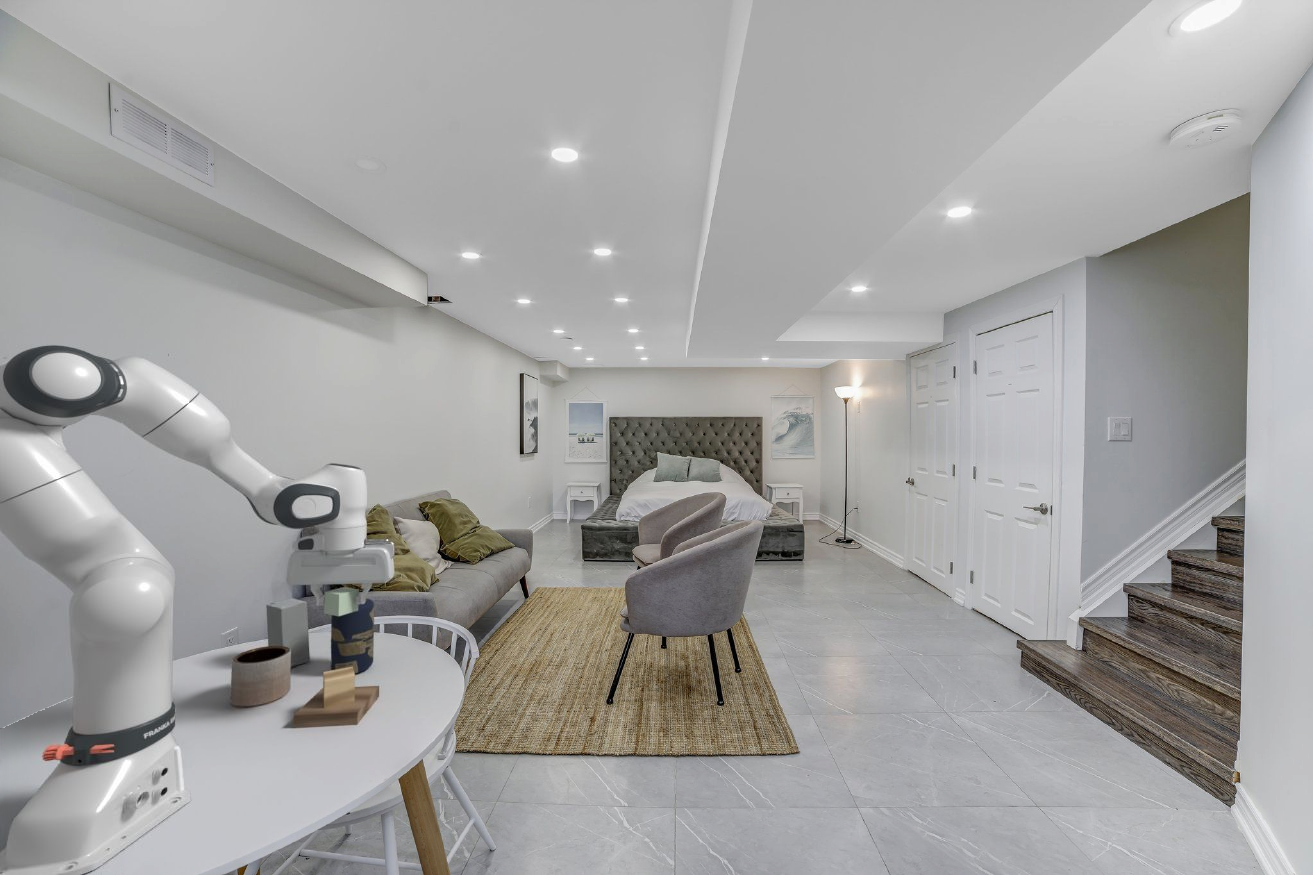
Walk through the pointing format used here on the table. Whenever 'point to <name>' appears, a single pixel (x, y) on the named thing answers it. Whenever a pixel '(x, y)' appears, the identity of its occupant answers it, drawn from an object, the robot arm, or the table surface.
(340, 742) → the table surface
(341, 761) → the table surface
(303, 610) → the skincare box
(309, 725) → the base plate
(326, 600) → the green cube
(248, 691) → the planter
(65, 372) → the robot arm
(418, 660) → the table surface
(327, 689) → the oak cube
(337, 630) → the canister
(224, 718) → the table surface
